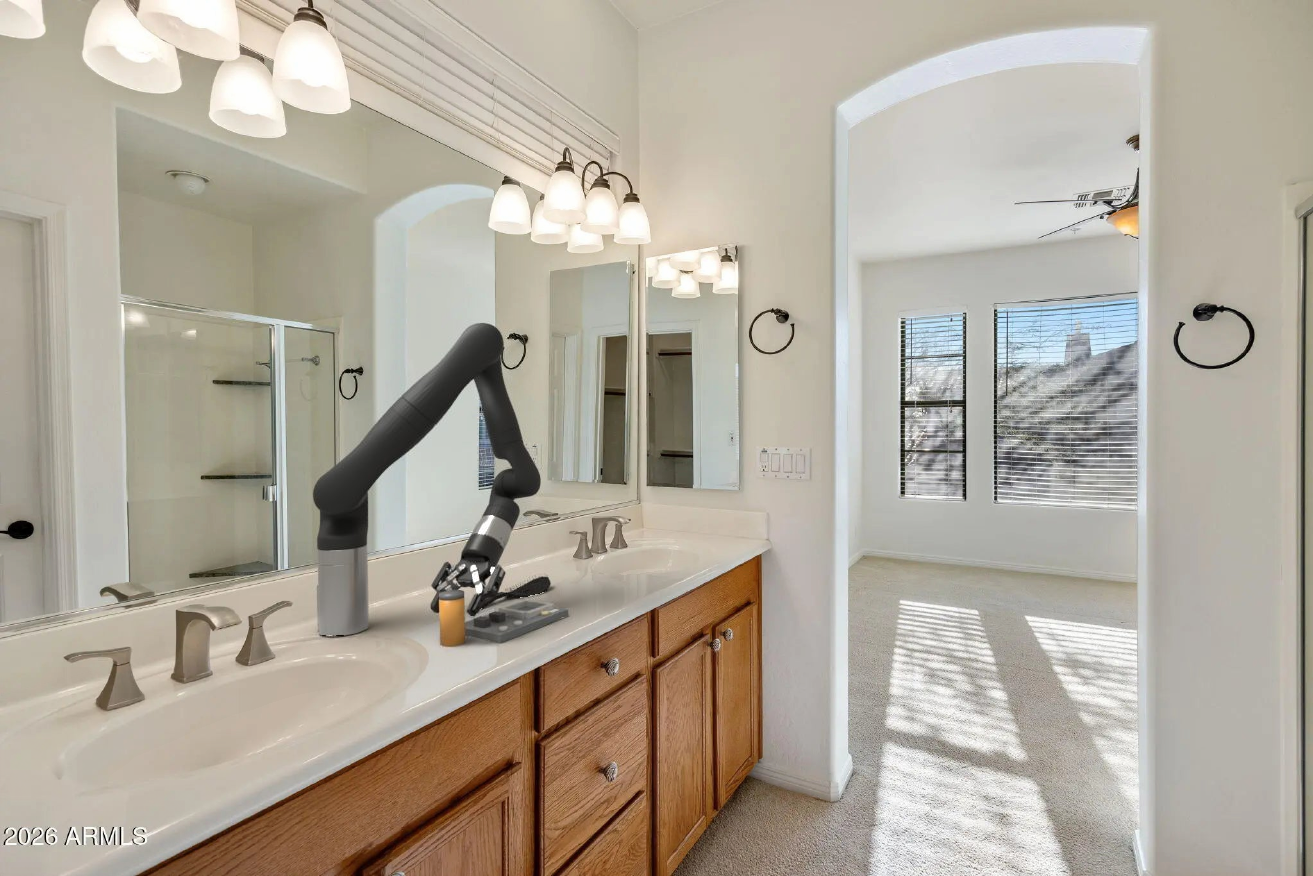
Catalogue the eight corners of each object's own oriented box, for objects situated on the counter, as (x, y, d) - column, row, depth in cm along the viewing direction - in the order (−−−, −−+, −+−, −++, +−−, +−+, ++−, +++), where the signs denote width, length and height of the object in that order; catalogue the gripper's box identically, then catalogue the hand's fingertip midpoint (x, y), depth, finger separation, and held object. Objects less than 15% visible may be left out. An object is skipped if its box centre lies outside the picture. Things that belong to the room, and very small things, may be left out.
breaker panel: (453, 633, 124) (453, 617, 124) (523, 609, 141) (523, 595, 141) (500, 643, 117) (500, 626, 117) (568, 616, 134) (568, 601, 134)
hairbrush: (458, 597, 143) (533, 571, 164) (459, 613, 143) (534, 585, 164) (483, 602, 139) (557, 574, 160) (484, 618, 139) (558, 588, 160)
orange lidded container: (434, 644, 117) (433, 594, 117) (454, 637, 121) (453, 589, 121) (451, 648, 115) (450, 596, 115) (470, 641, 119) (469, 591, 119)
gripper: (450, 531, 129) (412, 600, 118) (508, 532, 124) (473, 605, 113) (467, 552, 134) (432, 620, 123) (524, 554, 129) (492, 625, 118)
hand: (452, 612), depth 118 cm, fingers open, 8 cm apart
